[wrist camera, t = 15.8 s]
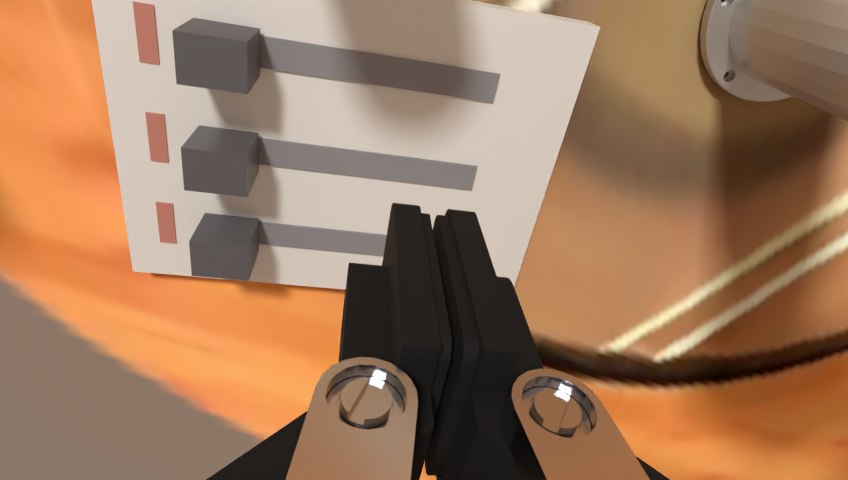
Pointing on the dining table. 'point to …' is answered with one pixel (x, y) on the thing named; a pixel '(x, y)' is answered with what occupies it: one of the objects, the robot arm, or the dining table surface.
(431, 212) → the switch panel
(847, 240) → the dining table surface
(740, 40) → the robot arm
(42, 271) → the dining table surface
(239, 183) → the handle
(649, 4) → the dining table surface
